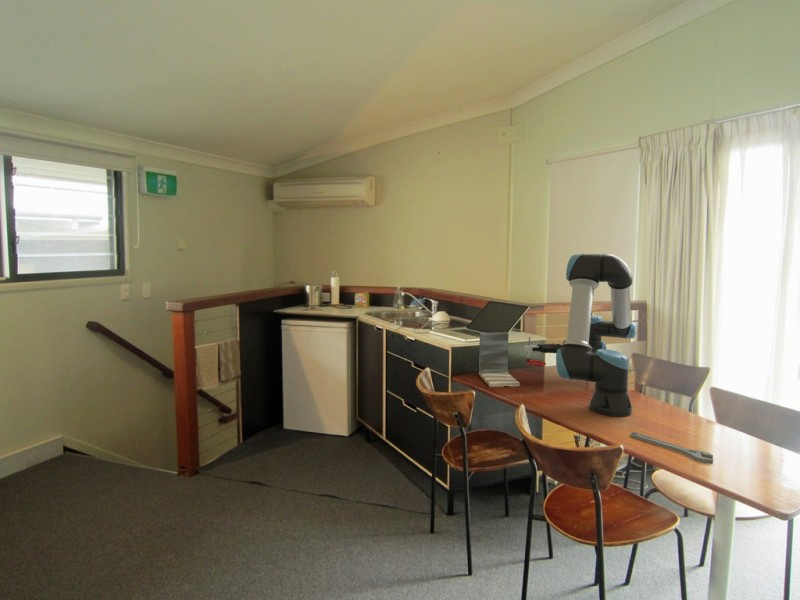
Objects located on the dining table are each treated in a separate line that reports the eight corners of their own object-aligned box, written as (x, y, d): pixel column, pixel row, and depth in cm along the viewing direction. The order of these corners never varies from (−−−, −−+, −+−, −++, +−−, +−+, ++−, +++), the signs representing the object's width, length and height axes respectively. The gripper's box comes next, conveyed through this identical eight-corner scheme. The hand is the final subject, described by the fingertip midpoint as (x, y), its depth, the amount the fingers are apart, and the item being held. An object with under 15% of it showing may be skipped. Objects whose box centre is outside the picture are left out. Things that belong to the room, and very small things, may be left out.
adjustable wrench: (628, 437, 158) (628, 432, 158) (640, 434, 162) (640, 429, 161) (707, 466, 137) (707, 460, 137) (718, 461, 140) (719, 455, 140)
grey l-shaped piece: (519, 386, 217) (520, 340, 215) (489, 386, 217) (490, 340, 214) (506, 374, 239) (507, 332, 237) (479, 374, 238) (479, 332, 236)
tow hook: (544, 363, 228) (525, 361, 229) (547, 337, 226) (527, 335, 228) (546, 367, 219) (526, 365, 221) (549, 340, 218) (528, 338, 220)
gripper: (578, 359, 219) (529, 359, 217) (566, 353, 233) (519, 353, 232) (579, 343, 218) (529, 343, 217) (566, 338, 232) (520, 338, 231)
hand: (524, 348), depth 224 cm, fingers closed on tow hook
